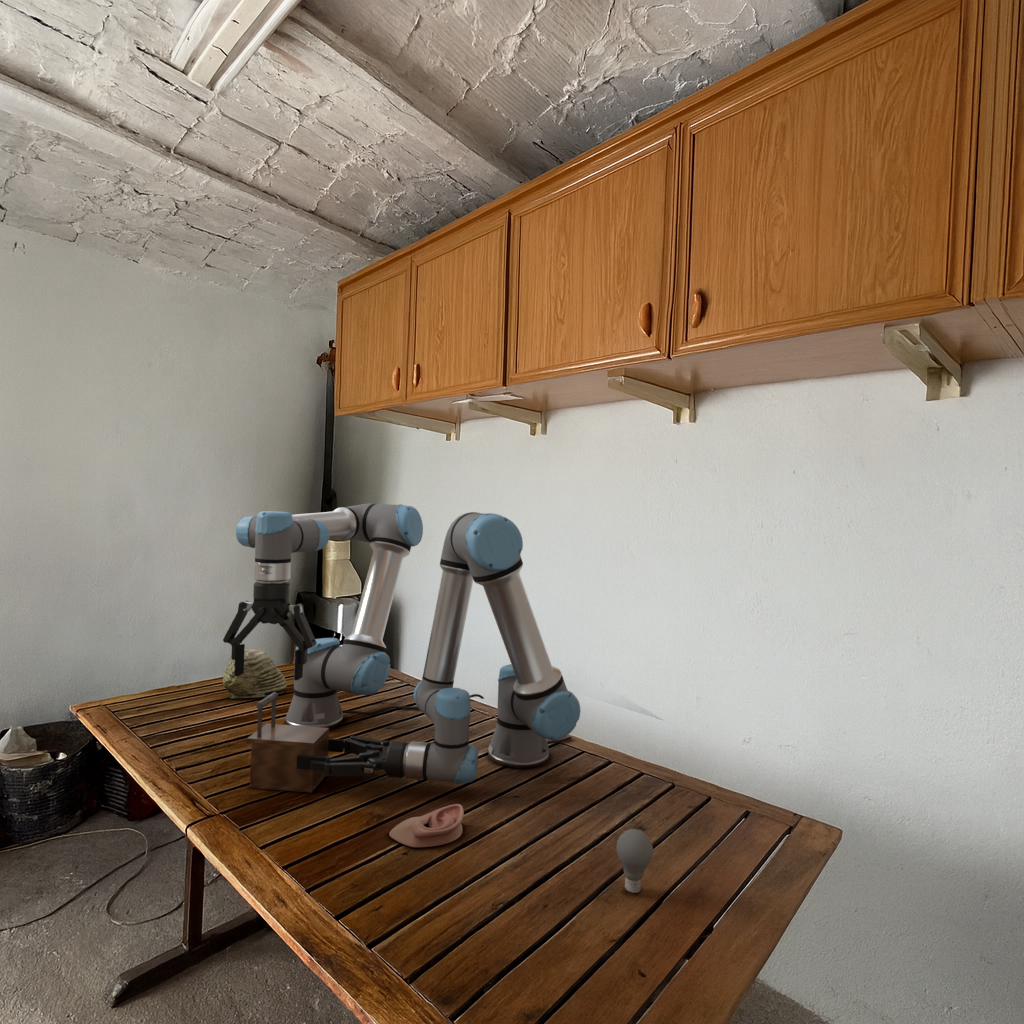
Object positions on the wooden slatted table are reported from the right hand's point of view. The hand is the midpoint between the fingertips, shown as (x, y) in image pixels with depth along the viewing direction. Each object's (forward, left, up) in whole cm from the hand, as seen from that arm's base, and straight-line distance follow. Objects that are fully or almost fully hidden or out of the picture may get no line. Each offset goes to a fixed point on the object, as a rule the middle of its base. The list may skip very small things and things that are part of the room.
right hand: (306, 752), depth 140 cm
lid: (+4, -2, +3) cm, 5 cm away
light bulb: (-49, +56, -7) cm, 75 cm away
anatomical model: (-21, +28, -7) cm, 36 cm away
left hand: (+9, -4, +16) cm, 19 cm away
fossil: (+12, -67, -7) cm, 68 cm away
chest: (+3, -1, -7) cm, 8 cm away
